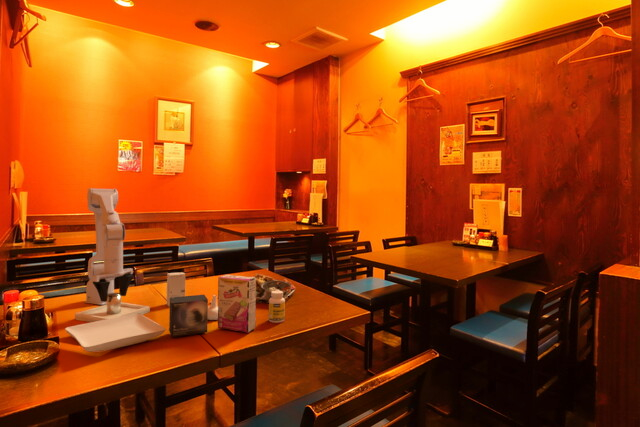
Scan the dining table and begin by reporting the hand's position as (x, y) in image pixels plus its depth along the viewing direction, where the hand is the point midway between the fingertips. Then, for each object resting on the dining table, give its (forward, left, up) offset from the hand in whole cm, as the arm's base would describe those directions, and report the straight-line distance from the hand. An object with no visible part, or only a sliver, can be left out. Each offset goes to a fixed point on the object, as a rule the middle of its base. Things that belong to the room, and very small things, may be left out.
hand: (113, 298), depth 128 cm
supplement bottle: (+54, +17, -6) cm, 57 cm away
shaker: (0, 0, -5) cm, 5 cm away
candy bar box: (+46, +5, -6) cm, 47 cm away
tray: (0, 0, -6) cm, 6 cm away
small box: (+34, -3, -6) cm, 35 cm away
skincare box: (+10, +19, -6) cm, 22 cm away
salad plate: (+18, -15, -7) cm, 24 cm away
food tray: (+37, +38, -7) cm, 54 cm away
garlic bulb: (+33, +11, -6) cm, 35 cm away
